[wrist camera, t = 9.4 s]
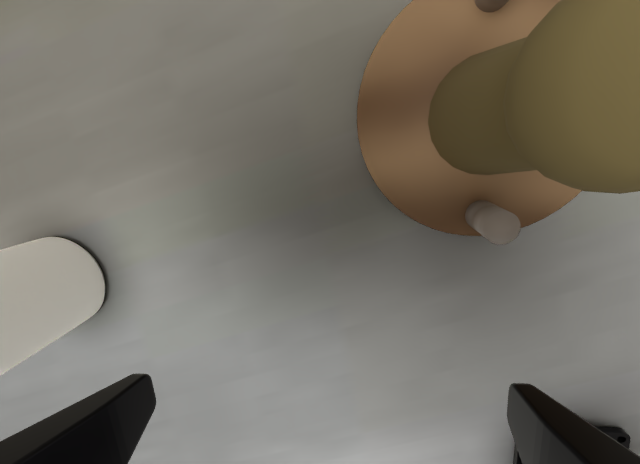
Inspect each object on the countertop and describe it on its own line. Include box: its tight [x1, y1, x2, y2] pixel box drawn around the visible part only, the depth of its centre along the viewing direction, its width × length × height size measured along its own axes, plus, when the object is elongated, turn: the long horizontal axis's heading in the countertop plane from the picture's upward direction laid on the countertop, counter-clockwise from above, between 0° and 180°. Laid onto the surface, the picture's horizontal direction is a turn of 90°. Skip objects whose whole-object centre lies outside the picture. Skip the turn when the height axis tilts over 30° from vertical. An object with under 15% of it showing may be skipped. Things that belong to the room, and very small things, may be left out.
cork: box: [428, 0, 640, 194], centre depth 12 cm, size 6×6×11 cm
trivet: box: [357, 0, 582, 245], centre depth 16 cm, size 13×13×4 cm
